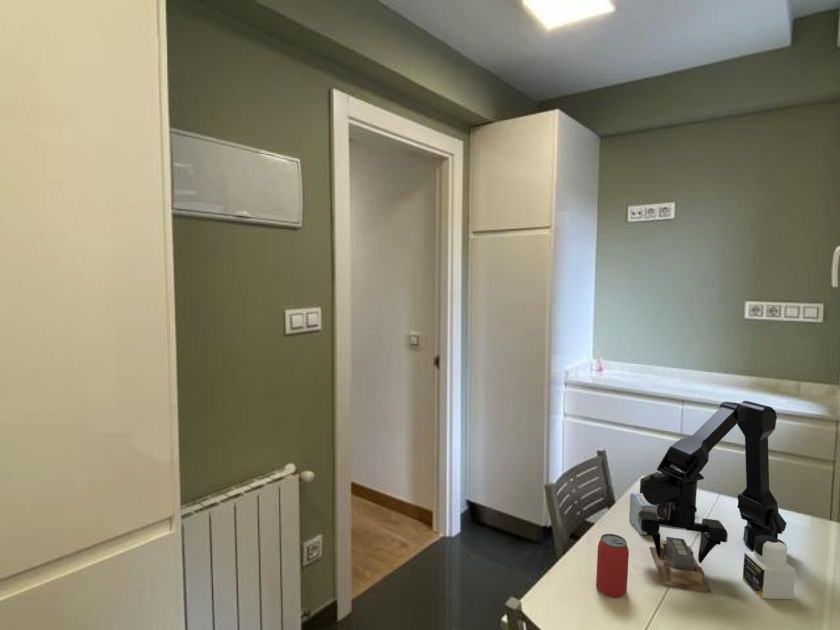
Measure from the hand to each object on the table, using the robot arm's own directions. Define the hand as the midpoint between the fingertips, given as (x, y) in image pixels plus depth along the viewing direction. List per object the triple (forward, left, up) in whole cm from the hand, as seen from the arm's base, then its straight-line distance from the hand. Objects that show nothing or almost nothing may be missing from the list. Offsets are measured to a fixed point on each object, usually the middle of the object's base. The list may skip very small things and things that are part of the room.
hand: (678, 559), depth 121 cm
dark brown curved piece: (-5, -31, -3) cm, 32 cm away
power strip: (0, 0, -2) cm, 2 cm away
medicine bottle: (-18, +3, -3) cm, 18 cm away
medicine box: (+5, -19, -3) cm, 20 cm away
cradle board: (0, 0, -3) cm, 3 cm away
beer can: (+17, +13, -3) cm, 22 cm away
